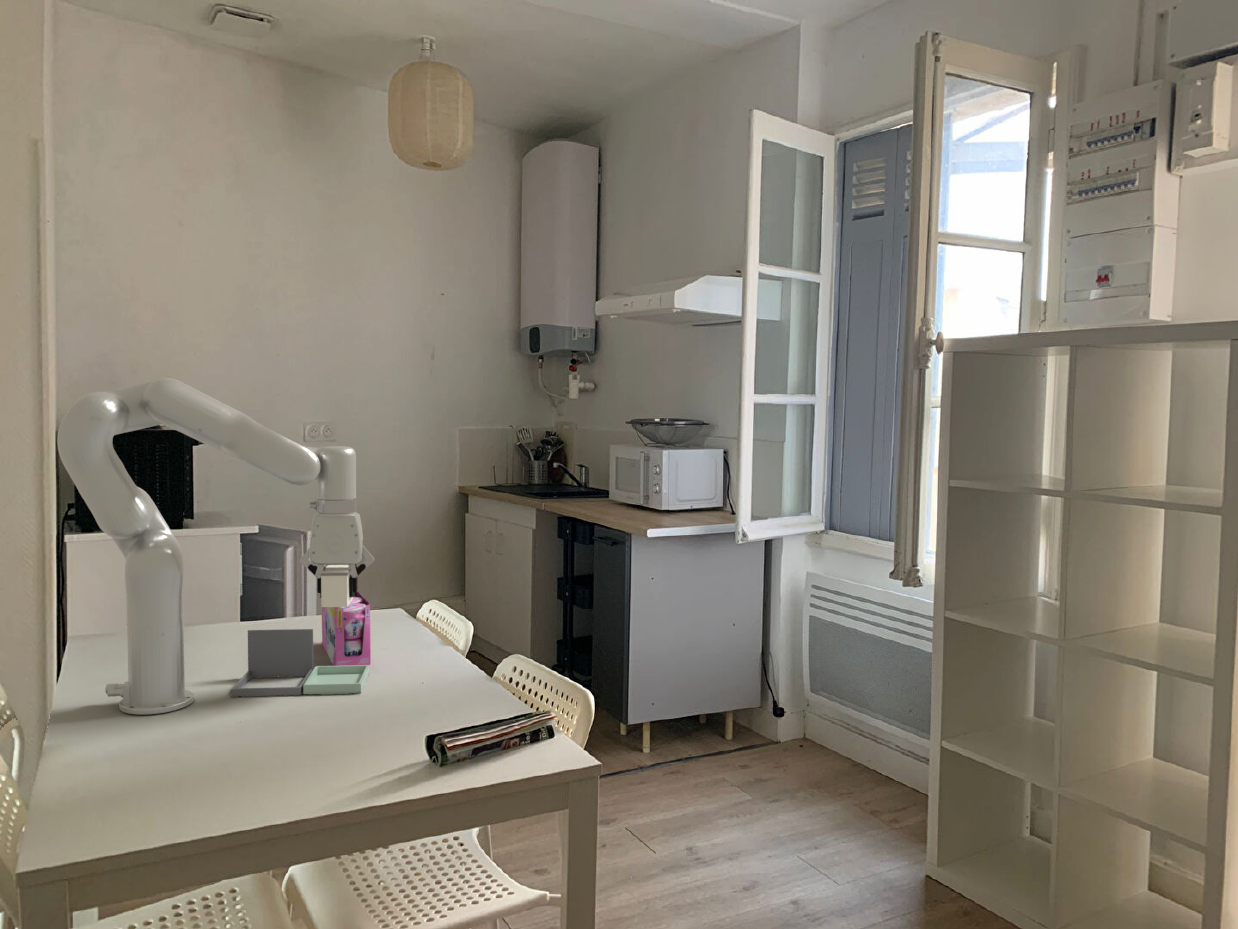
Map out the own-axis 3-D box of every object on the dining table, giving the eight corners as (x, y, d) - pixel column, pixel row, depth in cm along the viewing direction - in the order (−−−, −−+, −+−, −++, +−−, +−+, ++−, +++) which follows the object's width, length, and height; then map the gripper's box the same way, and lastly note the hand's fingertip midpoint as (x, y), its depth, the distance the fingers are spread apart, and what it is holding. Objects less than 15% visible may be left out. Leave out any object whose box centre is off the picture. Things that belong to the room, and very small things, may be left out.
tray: (303, 695, 182) (303, 685, 181) (315, 675, 194) (315, 666, 194) (360, 693, 183) (360, 683, 183) (369, 674, 196) (369, 665, 196)
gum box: (373, 667, 201) (372, 605, 201) (335, 671, 198) (335, 608, 197) (355, 641, 223) (354, 585, 222) (320, 644, 220) (320, 587, 219)
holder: (231, 697, 180) (230, 646, 179) (248, 677, 193) (248, 630, 192) (300, 695, 181) (300, 645, 181) (313, 675, 194) (313, 628, 194)
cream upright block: (320, 607, 183) (320, 572, 183) (328, 598, 191) (327, 565, 191) (347, 606, 184) (347, 572, 183) (353, 598, 192) (353, 564, 192)
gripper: (289, 509, 181) (290, 601, 183) (377, 509, 184) (378, 599, 185) (297, 505, 189) (297, 593, 190) (382, 505, 191) (382, 592, 192)
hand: (337, 595), depth 188 cm, fingers closed on cream upright block, 5 cm apart
